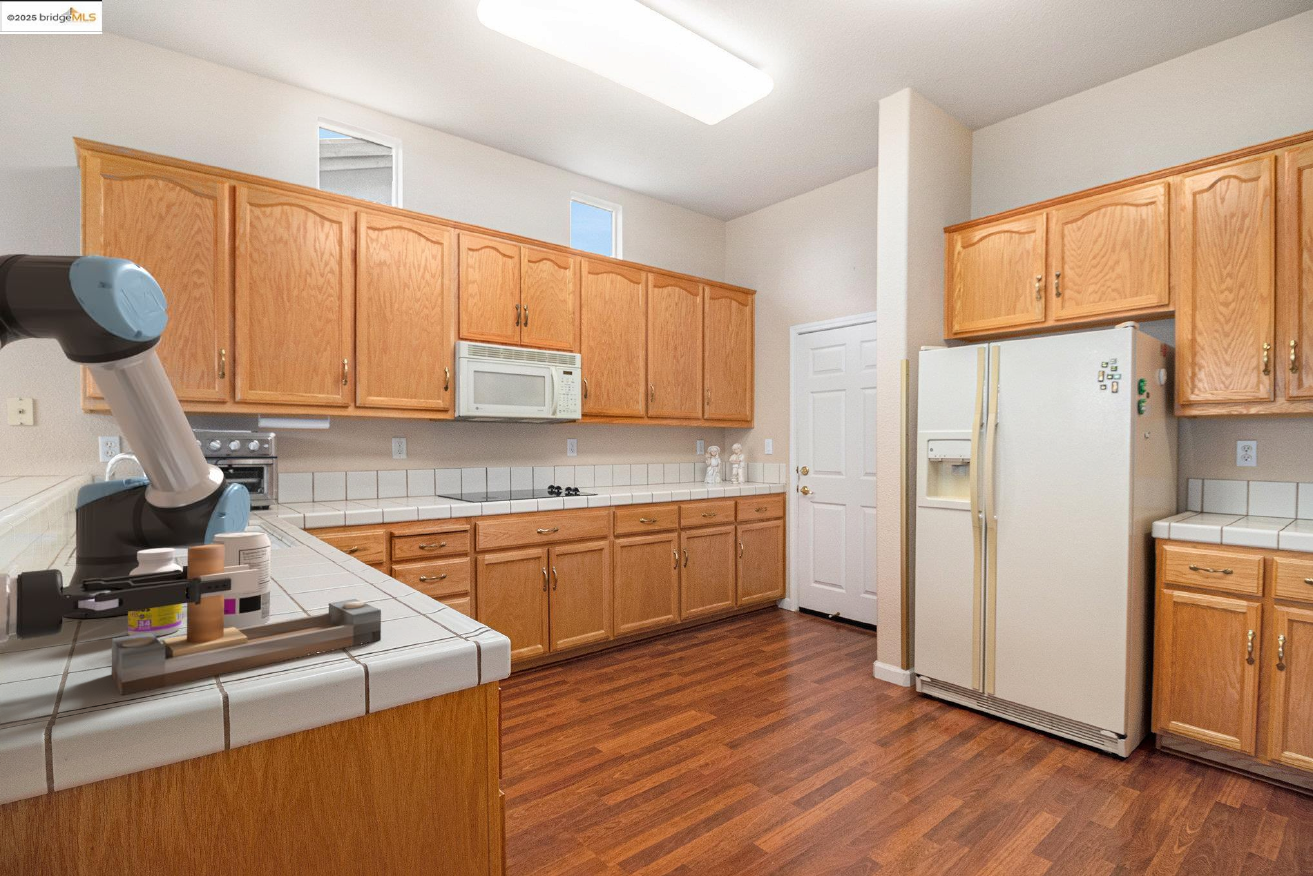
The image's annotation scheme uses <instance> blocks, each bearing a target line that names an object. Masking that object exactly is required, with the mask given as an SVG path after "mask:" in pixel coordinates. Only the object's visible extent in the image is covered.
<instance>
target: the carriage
mask: <svg viewBox="0 0 1313 876" xmlns="http://www.w3.org/2000/svg"><path fill="white" fill-rule="evenodd" d="M224 553H225V546H224V545H203V546H195V547H190V548H188V549H187V566H188V569H187V579H193V578H199V576H202V575H210V574H219V573H224ZM247 640H248V637H247V636H245V635H244V634H243V633H241V632H240V631H239V630H237V629H236V628H235V627H230V628H225V629H224V595H216V596H209V597H202V598H201V604H198V605H195V602H194V603H186V634H185V635H179V636H174V637H173V636H172V637H167V638H163V639H162V642H163V647H164V648H165V658H166V659H168V658H173V657H179V656H184V655H189V654H195V653H200V652H205V651H210V650H216V649H221V648H226V647H232V646H237V645H242V644H247Z"/></svg>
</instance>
